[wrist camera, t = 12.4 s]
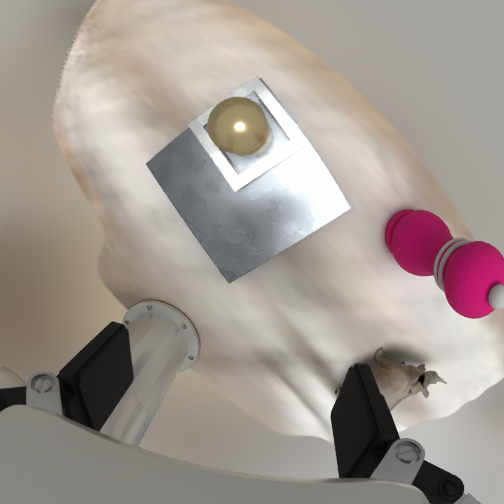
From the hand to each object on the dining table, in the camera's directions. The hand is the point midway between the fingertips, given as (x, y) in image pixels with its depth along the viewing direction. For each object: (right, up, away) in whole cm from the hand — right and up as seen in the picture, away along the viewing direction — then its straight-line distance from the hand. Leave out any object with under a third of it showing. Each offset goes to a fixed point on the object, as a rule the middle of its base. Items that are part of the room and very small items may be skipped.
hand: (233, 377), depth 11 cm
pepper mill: (+20, +7, +21) cm, 30 cm away
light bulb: (0, +18, +19) cm, 26 cm away
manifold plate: (0, +13, +22) cm, 26 cm away
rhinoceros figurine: (+21, -12, +27) cm, 36 cm away
